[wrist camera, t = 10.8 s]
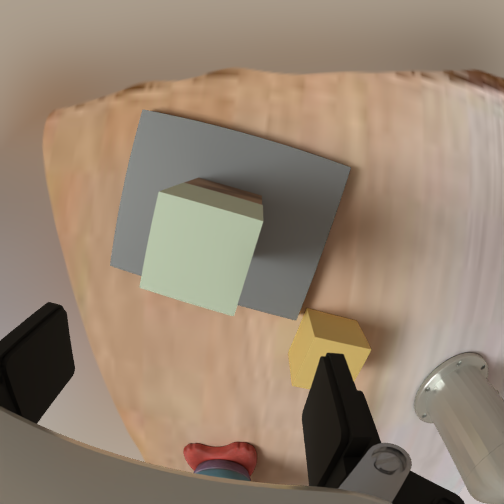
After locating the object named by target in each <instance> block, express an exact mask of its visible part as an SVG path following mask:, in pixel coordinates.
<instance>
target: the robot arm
mask: <svg viewBox="0 0 504 504" xmlns="http://www.w3.org/2000/svg"><path fill="white" fill-rule="evenodd" d="M74 371H75V366H74V360H73V354H72V348H71V341H70V335H69V327H68V319H67V313H66V311H65V310H64V308H63V307H62V306H61V305H58V304H55V303H51V302H48V303H46V304H45V305H44V306H42V307H41V308H40V309H39V310H37V311H36V312H35V313H34V314H32V315H31V316H30V317H29V318H27V319H26V320H25V321H24V322H22V323H21V324H20V325H19V326H18V327H16V328H15V329H14V330H13V331H11V332H10V333H9V334H8V335H7V336H5V337H4V338H3V339H2V340H1V341H0V504H464V501H463V500H462V499H461V498H460V497H459V496H458V495H456V494H455V493H453V492H451V491H449V490H447V489H445V488H443V487H441V486H439V485H437V484H435V483H433V482H431V481H429V480H427V479H425V478H423V477H421V476H419V475H418V474H416V473H414V472H412V471H410V469H411V466H412V462H411V458H410V456H409V454H408V453H407V452H406V451H405V450H404V449H402V448H401V447H399V446H397V445H394V444H391V443H381V441H380V438H379V435H378V432H377V430H376V427H375V424H374V421H373V418H372V415H371V413H370V410H369V407H368V404H367V402H366V399H365V396H364V394H363V392H362V391H357V389H356V386H355V384H354V381H353V378H352V375H351V372H350V370H349V367H348V364H347V361H346V359H345V356H344V354H339V353H327V354H326V356H321V357H320V360H319V363H318V366H317V369H316V373H315V376H314V379H313V382H312V385H311V388H310V391H309V394H308V398H307V401H306V404H305V406H304V409H303V413H302V424H303V433H304V442H305V451H306V460H307V469H308V478H309V486H301V485H286V484H272V483H261V482H252V481H243V480H235V479H227V478H220V477H214V476H207V475H202V474H196V473H191V472H186V471H181V470H176V469H171V468H167V467H163V466H158V465H154V464H150V463H146V462H142V461H139V460H135V459H131V458H128V457H124V456H121V455H118V454H114V453H111V452H108V451H105V450H102V449H99V448H96V447H93V446H90V445H88V444H85V443H82V442H79V441H76V440H74V439H71V438H69V437H66V436H64V435H61V434H59V433H56V432H54V431H52V430H49V429H47V428H45V427H42V426H40V425H38V424H37V423H38V421H39V420H40V419H41V417H42V416H43V414H44V413H45V412H46V410H47V409H48V408H49V406H50V405H51V403H52V402H53V401H54V400H55V398H56V397H57V396H58V394H59V393H60V392H61V390H62V389H63V388H64V386H65V385H66V384H67V383H68V381H69V380H70V379H71V377H72V376H73V374H74ZM487 377H488V366H487V363H486V361H485V360H484V359H483V358H482V357H481V356H480V355H478V354H475V353H464V354H460V355H457V356H455V357H453V358H450V359H449V360H447V361H445V362H444V363H442V364H441V365H440V366H438V367H437V368H436V369H435V370H434V371H433V372H432V373H431V374H430V375H429V376H428V377H427V378H426V379H425V381H424V382H423V383H422V385H421V386H420V388H419V390H418V392H417V394H416V397H415V402H414V408H415V412H416V414H417V416H418V417H419V419H420V420H422V421H424V422H427V423H434V424H435V426H436V428H437V430H438V432H439V434H440V436H441V438H442V440H443V442H444V443H445V445H446V447H447V449H448V451H449V453H450V455H451V457H452V459H453V461H454V463H455V465H456V467H457V469H458V471H459V473H460V475H461V477H462V479H463V481H464V484H465V485H466V487H467V490H468V492H469V493H470V495H471V496H472V497H473V498H474V499H476V500H477V501H480V502H483V503H487V504H504V400H503V399H502V398H501V397H500V395H499V392H498V391H497V390H495V389H494V388H493V387H492V385H491V384H490V383H489V382H488V380H487Z"/></svg>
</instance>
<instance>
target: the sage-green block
mask: <svg viewBox="0 0 504 504" xmlns="http://www.w3.org/2000/svg"><path fill="white" fill-rule="evenodd" d="M262 224H263V205H261V204H258V203H254V202H251V201H247V200H244V199H241V198H237V197H234V196H230V195H227V194H223V193H220V192H216V191H213V190H209V189H206V188H202V187H198V186H195V185H191V184H187V183H181V184H178V185H175V186H172V187H170V188H167V189H164V190H162V191H159V193H158V197H157V201H156V206H155V210H154V215H153V219H152V224H151V229H150V234H149V239H148V244H147V249H146V254H145V259H144V265H143V270H142V276H141V282H140V288H142V289H145V290H148V291H152V292H155V293H158V294H161V295H164V296H167V297H170V298H174V299H177V300H180V301H183V302H187V303H190V304H193V305H197V306H200V307H203V308H207V309H210V310H213V311H217V312H220V313H224V314H227V315H231V316H234V314H235V311H236V308H237V304H238V301H239V298H240V295H241V292H242V288H243V285H244V282H245V279H246V276H247V272H248V269H249V266H250V263H251V259H252V256H253V253H254V250H255V247H256V243H257V240H258V237H259V234H260V231H261V227H262Z"/></svg>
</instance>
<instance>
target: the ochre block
mask: <svg viewBox="0 0 504 504" xmlns="http://www.w3.org/2000/svg"><path fill="white" fill-rule="evenodd" d="M371 350H372V349H371V347H370V345H369V343H368V342H367V340H366V338H365V336H364V334H363V332H362V330H361V328H360V326H359V324H358V322H357V321H356V320H352V319H348V318H344V317H340V316H336V315H332V314H328V313H324V312H321V311H317V310H313V309H309V308H307V309H306V311H305V314H304V316H303V319H302V321H301V323H300V326H299V328H298V331H297V333H296V336H295V338H294V340H293V343H292V345H291V347H290V350H289V352H288V356H289V364H290V373H291V382H292V386H296V387H301V388H306V389H310V388H311V385H312V382H313V379H314V376H315V373H316V369H317V366H318V363H319V360H320V357H321V356H326V354H327V353H339V354H344V356H345V359H346V361H347V364H348V367H349V370H350V372H351V375H352V378H353V381H355V379H356V377H357V375H358V374H359V372H360V370H361V368H362V366H363V365H364V363H365V361H366V359H367V357H368V355H369V354H370V352H371Z"/></svg>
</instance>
